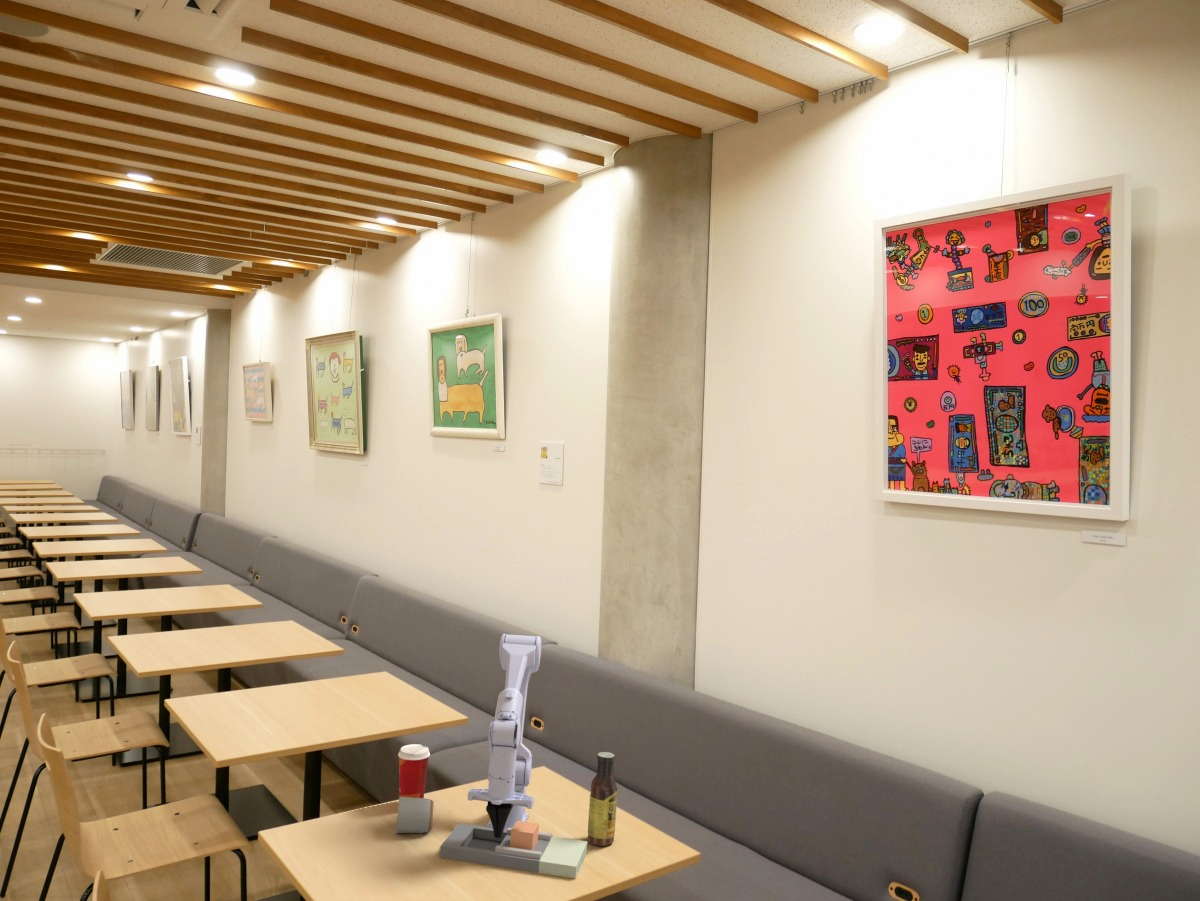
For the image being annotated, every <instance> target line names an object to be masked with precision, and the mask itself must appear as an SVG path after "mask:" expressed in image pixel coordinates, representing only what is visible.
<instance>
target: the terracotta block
mask: <svg viewBox="0 0 1200 901" xmlns="http://www.w3.org/2000/svg"><path fill="white" fill-rule="evenodd" d="M539 828H540V824H539V823H536V822H529V821H525V822H524V821H517V822H516V823H515V825H514V826H513V828H512V829H511V836H510V847H512V848H519V849H526V850H532V851H533V849H534V848H535V846H536V844H537V842H538V832H540V830H539Z"/></svg>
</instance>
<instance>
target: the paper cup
mask: <svg viewBox="0 0 1200 901" xmlns="http://www.w3.org/2000/svg"><path fill="white" fill-rule="evenodd" d="M429 749H430V748H429V747H428V746H425V745H422V744H418V743H417V744H416V743H413V744H412V743H411V744H406V745H403V746H401V747H400V748H399V752H398V754H397V756H398V759H399V760H398V761H399V764H398V765H399V768H398V770H399V772H398V773H399V774H398V777H399V780H398V783H399V784H398V793H399V795H398V798H399V797H410V798H425V789H426V783H427V774H428V765H429V757H430V756H431V753H430V750H429Z"/></svg>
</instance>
